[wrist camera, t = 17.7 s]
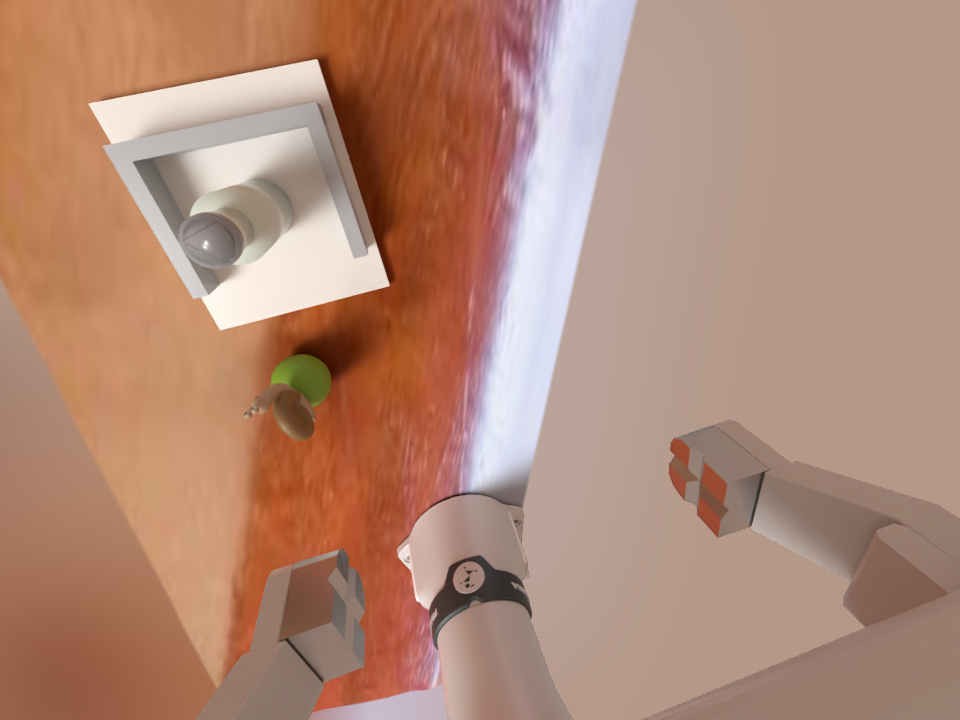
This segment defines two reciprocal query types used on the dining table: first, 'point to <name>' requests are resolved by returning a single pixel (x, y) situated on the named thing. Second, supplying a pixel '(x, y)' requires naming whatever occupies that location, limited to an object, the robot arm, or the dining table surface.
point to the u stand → (242, 157)
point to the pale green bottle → (236, 224)
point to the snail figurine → (295, 394)
